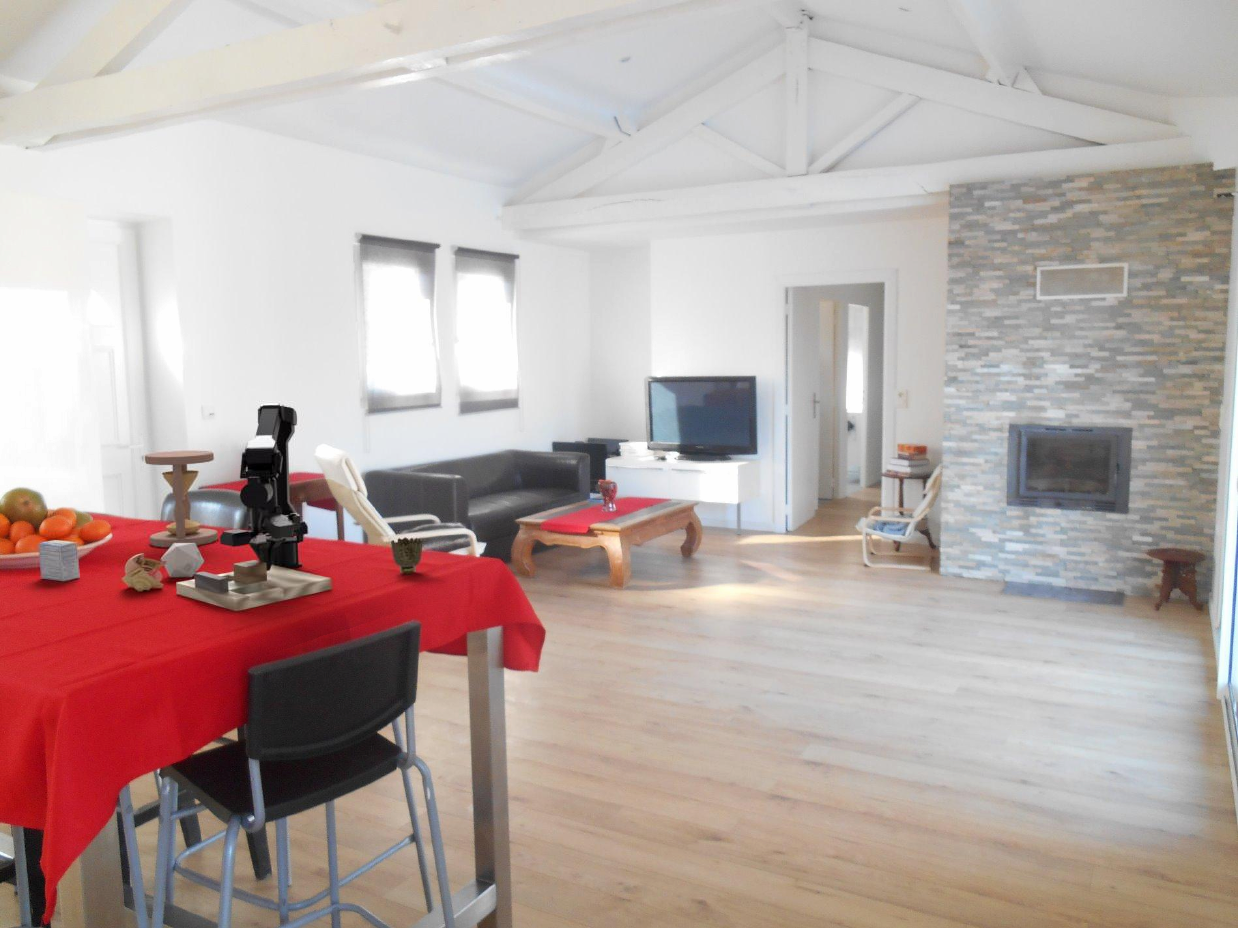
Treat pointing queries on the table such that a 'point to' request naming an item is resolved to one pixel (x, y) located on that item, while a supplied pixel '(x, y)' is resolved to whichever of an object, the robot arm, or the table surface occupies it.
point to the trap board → (252, 588)
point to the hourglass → (181, 498)
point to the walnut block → (250, 572)
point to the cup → (407, 554)
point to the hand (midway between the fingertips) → (267, 570)
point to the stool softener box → (59, 560)
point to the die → (182, 560)
